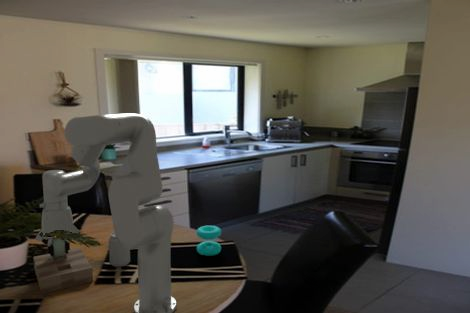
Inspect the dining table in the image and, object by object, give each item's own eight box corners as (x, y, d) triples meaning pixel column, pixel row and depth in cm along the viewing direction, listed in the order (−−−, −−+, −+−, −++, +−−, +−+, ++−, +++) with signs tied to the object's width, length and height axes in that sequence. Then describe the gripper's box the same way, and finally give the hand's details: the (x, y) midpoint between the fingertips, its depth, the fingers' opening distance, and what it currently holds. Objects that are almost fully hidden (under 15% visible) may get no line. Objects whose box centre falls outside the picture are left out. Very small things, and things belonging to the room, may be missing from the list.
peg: (68, 269, 140) (66, 237, 139) (54, 272, 138) (52, 240, 136) (65, 264, 144) (63, 234, 142) (52, 267, 142) (50, 236, 140)
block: (93, 281, 133) (92, 267, 132) (41, 293, 124) (40, 279, 124) (80, 259, 150) (80, 247, 149) (34, 269, 141) (33, 256, 140)
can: (124, 268, 143) (123, 237, 141) (106, 266, 144) (104, 236, 142) (133, 260, 150) (132, 230, 148) (116, 258, 151) (114, 229, 149)
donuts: (193, 226, 160) (216, 223, 163) (193, 249, 161) (216, 245, 165) (200, 234, 150) (224, 231, 154) (200, 258, 152) (224, 254, 156)
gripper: (30, 211, 130) (34, 262, 133) (83, 204, 139) (85, 252, 142) (28, 205, 136) (32, 255, 139) (79, 199, 145) (81, 245, 148)
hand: (59, 253), depth 140 cm, fingers closed on peg, 4 cm apart
